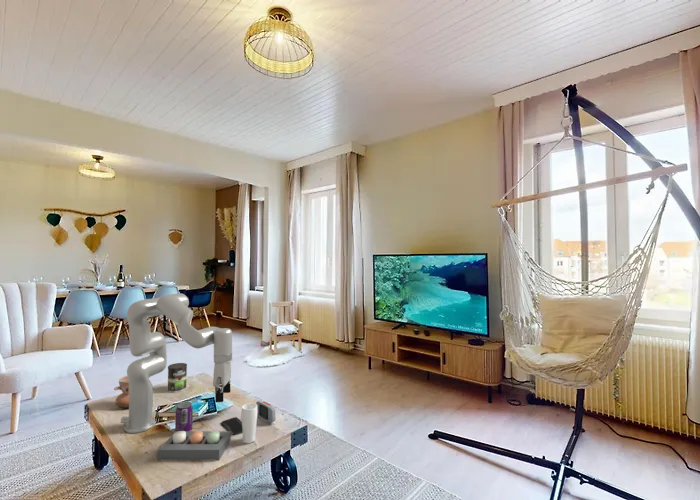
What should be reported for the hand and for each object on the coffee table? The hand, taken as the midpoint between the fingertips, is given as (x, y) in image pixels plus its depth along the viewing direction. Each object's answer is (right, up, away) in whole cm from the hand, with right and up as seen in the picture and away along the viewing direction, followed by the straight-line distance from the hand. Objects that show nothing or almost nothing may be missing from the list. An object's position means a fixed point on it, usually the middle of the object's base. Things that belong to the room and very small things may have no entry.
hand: (223, 397), depth 148 cm
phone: (0, -20, +13) cm, 24 cm away
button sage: (-2, -17, -6) cm, 18 cm away
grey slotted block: (-9, -19, -6) cm, 22 cm away
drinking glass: (+11, -20, +2) cm, 23 cm away
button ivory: (-16, -16, -6) cm, 24 cm away
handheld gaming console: (+13, -20, +21) cm, 32 cm away
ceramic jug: (-62, -19, +36) cm, 74 cm away
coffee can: (-49, -20, +56) cm, 77 cm away
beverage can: (-21, -20, +9) cm, 30 cm away
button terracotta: (-9, -17, -6) cm, 20 cm away
